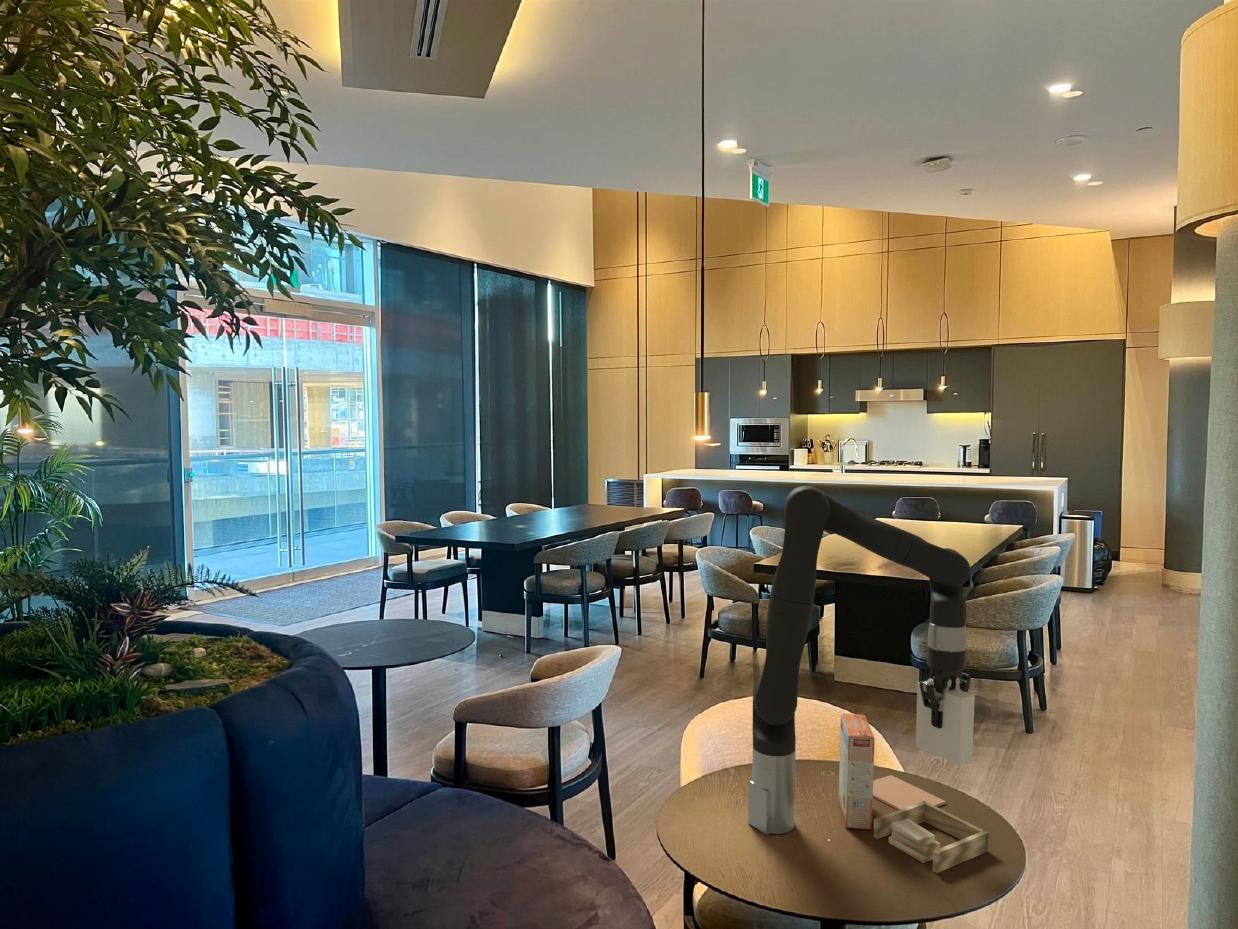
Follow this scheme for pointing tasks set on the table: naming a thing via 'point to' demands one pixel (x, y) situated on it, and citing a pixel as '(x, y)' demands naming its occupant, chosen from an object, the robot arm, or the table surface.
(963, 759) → the white block
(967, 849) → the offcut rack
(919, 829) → the offcut stack
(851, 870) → the table surface
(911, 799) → the terracotta tile
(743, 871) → the table surface
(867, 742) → the cracker box
